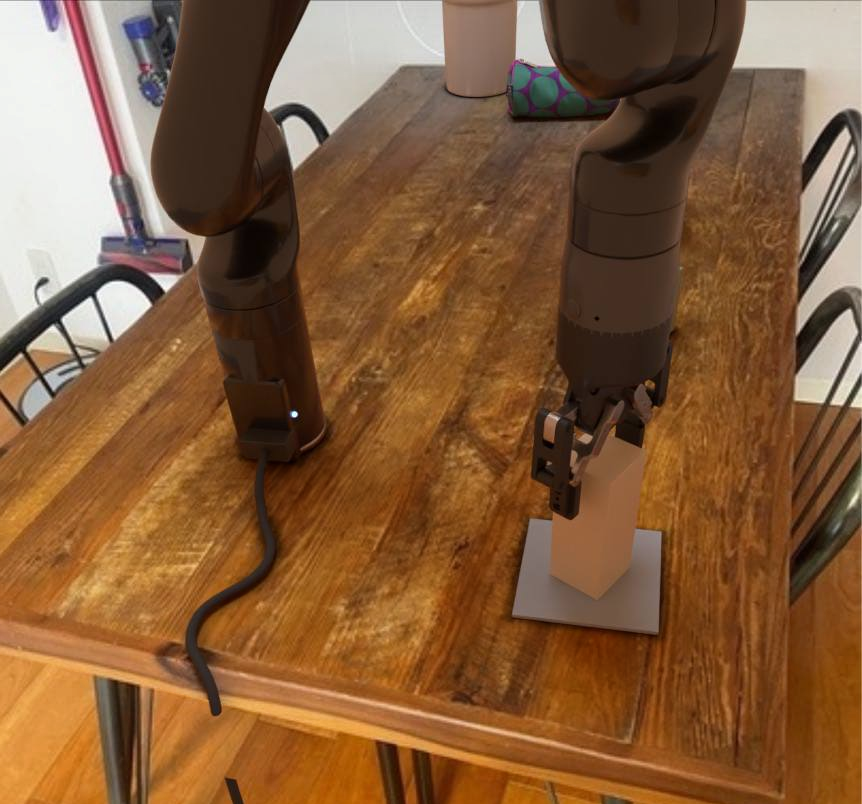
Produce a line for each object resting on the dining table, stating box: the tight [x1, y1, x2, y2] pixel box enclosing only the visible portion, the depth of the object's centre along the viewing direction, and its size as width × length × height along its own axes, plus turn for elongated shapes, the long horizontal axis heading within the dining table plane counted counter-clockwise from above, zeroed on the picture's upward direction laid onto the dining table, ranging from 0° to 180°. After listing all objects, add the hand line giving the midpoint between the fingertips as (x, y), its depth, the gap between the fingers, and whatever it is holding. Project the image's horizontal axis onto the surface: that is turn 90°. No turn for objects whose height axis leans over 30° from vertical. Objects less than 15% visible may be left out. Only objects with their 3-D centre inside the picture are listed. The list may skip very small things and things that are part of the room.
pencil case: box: [505, 57, 620, 119], centre depth 155 cm, size 21×9×10 cm, turn 85°
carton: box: [550, 433, 648, 600], centre depth 70 cm, size 13×5×5 cm
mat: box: [511, 517, 663, 636], centre depth 75 cm, size 12×12×1 cm
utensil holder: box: [441, 0, 518, 98], centre depth 166 cm, size 15×15×18 cm
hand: (596, 485), depth 68 cm, fingers open, 8 cm apart
